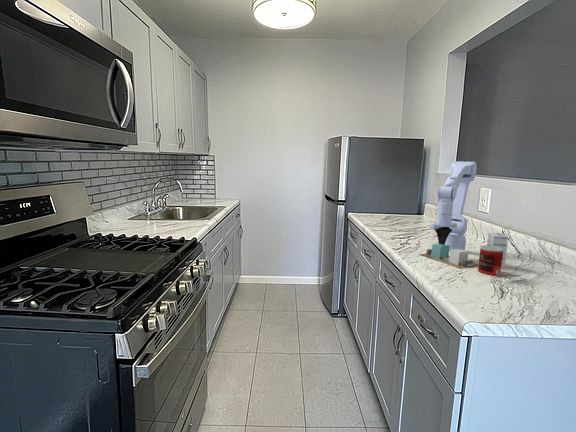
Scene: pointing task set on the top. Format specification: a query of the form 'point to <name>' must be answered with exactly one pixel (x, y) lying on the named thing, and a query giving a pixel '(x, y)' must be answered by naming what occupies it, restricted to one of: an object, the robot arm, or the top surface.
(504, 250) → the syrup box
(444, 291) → the top surface
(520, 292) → the top surface
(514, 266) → the top surface
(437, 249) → the teal module
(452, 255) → the grey module
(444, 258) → the steel rail
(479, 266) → the canned food
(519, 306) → the top surface
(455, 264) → the mounting board
